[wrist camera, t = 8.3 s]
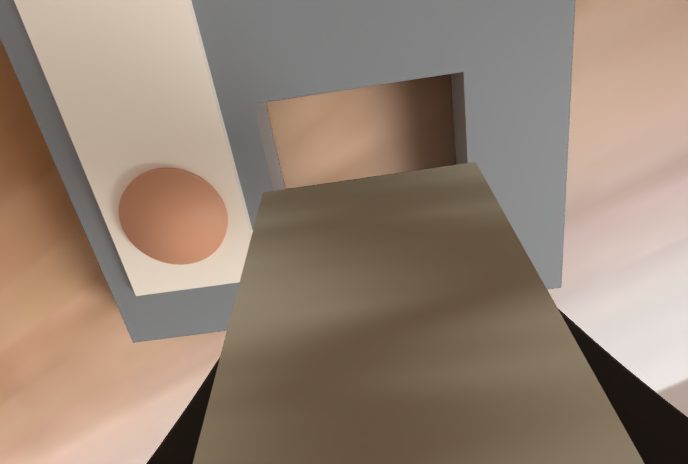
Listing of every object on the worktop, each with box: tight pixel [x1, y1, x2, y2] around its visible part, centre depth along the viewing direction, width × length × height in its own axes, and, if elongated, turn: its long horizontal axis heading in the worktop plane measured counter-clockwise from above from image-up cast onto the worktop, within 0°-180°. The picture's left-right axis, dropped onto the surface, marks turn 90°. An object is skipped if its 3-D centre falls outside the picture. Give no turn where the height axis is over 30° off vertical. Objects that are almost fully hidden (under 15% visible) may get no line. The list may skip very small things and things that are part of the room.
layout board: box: [0, 0, 575, 343], centre depth 14 cm, size 14×18×2 cm
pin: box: [193, 162, 644, 464], centre depth 8 cm, size 4×4×8 cm
